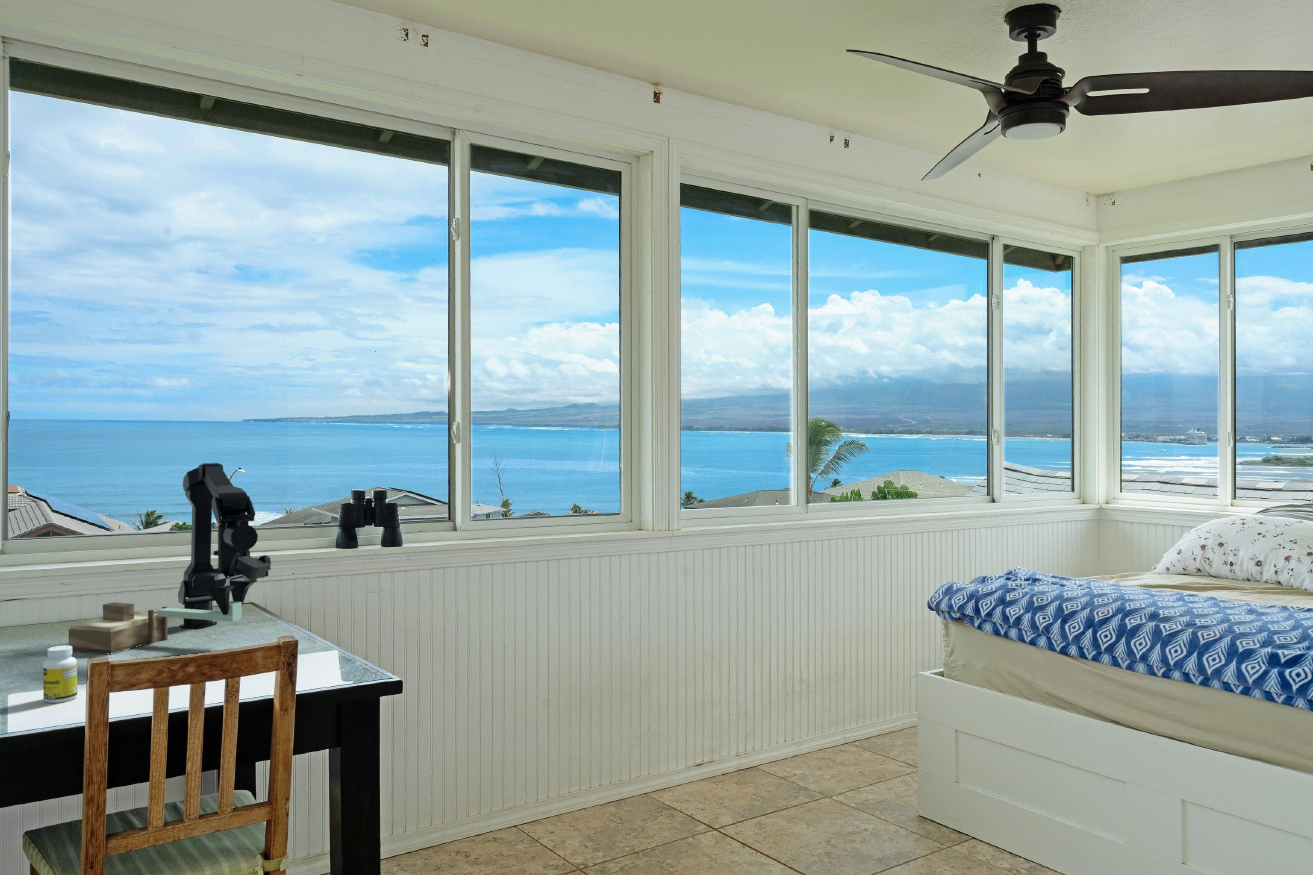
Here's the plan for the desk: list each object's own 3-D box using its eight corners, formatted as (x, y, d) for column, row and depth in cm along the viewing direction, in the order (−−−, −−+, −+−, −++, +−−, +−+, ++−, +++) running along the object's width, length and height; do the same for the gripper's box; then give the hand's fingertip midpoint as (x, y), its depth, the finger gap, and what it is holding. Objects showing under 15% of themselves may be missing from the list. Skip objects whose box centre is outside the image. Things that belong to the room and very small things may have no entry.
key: (167, 613, 225) (167, 597, 225) (241, 618, 220) (241, 601, 219) (157, 616, 222) (157, 599, 222) (232, 621, 217) (232, 604, 217)
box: (122, 635, 231) (122, 603, 231) (169, 638, 227) (169, 606, 227) (65, 650, 215) (64, 616, 215) (114, 654, 212) (114, 619, 211)
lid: (125, 618, 230) (125, 596, 230) (164, 621, 227) (164, 599, 227) (70, 632, 215) (70, 609, 215) (110, 635, 212) (110, 611, 212)
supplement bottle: (36, 701, 176) (36, 649, 176) (63, 693, 181) (63, 643, 181) (57, 704, 174) (56, 652, 174) (84, 696, 179) (83, 645, 179)
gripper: (232, 552, 207) (232, 623, 207) (287, 542, 225) (287, 607, 225) (190, 550, 210) (190, 620, 210) (247, 540, 228) (248, 604, 228)
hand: (231, 612), depth 218 cm, fingers open, 4 cm apart
